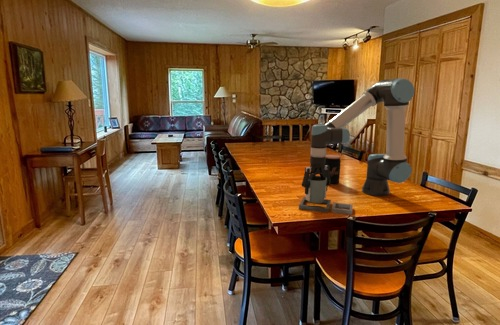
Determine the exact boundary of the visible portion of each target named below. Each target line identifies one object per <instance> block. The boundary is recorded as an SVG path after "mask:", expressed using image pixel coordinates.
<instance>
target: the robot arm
mask: <svg viewBox="0 0 500 325" xmlns="http://www.w3.org/2000/svg"><path fill="white" fill-rule="evenodd" d="M414 95H415V87H414V84H413V83H412V82H411V81H410V79H408V78H399V77H398V78H392V79H382V80H380V81H378V82H376V83H375V84H372V85H371V86H370V87H368V88H367V89H365V91H362V95H361V96H360V97H359V98H357V99H356V100H355V101H353V102H352V103H351V104H350V105H348V106H347V107H346V108H344V109H343V110H342V111H340V112H339V113H338V114H337V115H335V116H334V117H333V118H331V119H330V120H329V121H327V122H326V123H324V124H313V125H312V127H311V132H310V135H311V137H310V156H309V159H310V161H309V164H310V166H308V167H304V174H303V178H302V182H301V187H303V188H304V194H305V197H306V200H308V201H310V189H311V188H309V187H310V181H308V179H309V180H313V178H314V177H315V176H318V175H319V176H320V177H321V179H322V180H325V178H327V182H326V188H325V194H324V195H325V197H324V199H327V192H328V187H329V186H330V185H329V184H331V179H330V172H329V168H330V166H327V165H324V164H325V161H326V157H325V156H326V155H327V145H329V144H335V145H337V144H347V143H348V142H349V141H350V137H351V133H350V131H349V129H348V128H344V127H346V126H348V124H350V123H351V122H352V121H354V120H355V119H356V118H358V117H359V116H360V115H362V114H363V113H364V112H366V111H367V110H368V109H369V108H372V107H375V106H376V105H378V104H380V103H383V107H384V108H385V109H386V142H385V143H386V146H385V147H386V149H385V151H386V153H373V154H371V153H370V154H369V155H368V157H367V165H366V177H365V181H364V182H363V185H362V189H361V191H362V193H364V194H367V195H369V196H377V197H385V196H388V195H390V191H391V190H390V189H391V188H390V186H389V182H388V181H390V182H392V183H397V184H401V183H404V182H406V181H408V179H409V178H410V176H411V174H412V166H411V164H410V163H408V157H407V156H406V154H405V133H406V132H405V129H406V128H405V126H406V125H405V124H406V108H407V107H409V102H410V101H411V100H412V99H413V98H414ZM323 170H324V171H325V173H324V171H323ZM324 174H325V175H324ZM308 201H307V202H308Z"/></svg>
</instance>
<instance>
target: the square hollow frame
mask: <svg viewBox="0 0 500 325" xmlns="http://www.w3.org/2000/svg"><path fill="white" fill-rule="evenodd" d="M306 202H308V203H310V202H309V201H308V200H306V196H304V197H302V199H301V201H300V203H299V205H298V210H303V211H311V212H319V213H320V212H321V213H327V214H328V213H329V212H330V208H331V204H332V199H327V198H324V202H322V203H321V204H326V207H325V206H324V207H323V206H315V205H305V203H306Z"/></svg>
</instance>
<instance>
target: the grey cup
mask: <svg viewBox="0 0 500 325" xmlns="http://www.w3.org/2000/svg"><path fill="white" fill-rule="evenodd" d="M308 181H310V187H309V188H311V189H310V201H309V202H308V203H313V204H323V203H322V202H324V199H325V198H324V197H325V195H324V194H325V188H326V182H327V178H325V180H322V179H321V177H320V175H316V176H315V177H314V178H313V180H309V179H308Z"/></svg>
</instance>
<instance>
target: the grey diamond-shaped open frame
mask: <svg viewBox="0 0 500 325" xmlns="http://www.w3.org/2000/svg"><path fill="white" fill-rule="evenodd" d="M353 206H354V205H353V204H349V203H339V202H333V203H332V207H331V213H334V214H342V215H348V216H349V215H353V209H354V208H353Z"/></svg>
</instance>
